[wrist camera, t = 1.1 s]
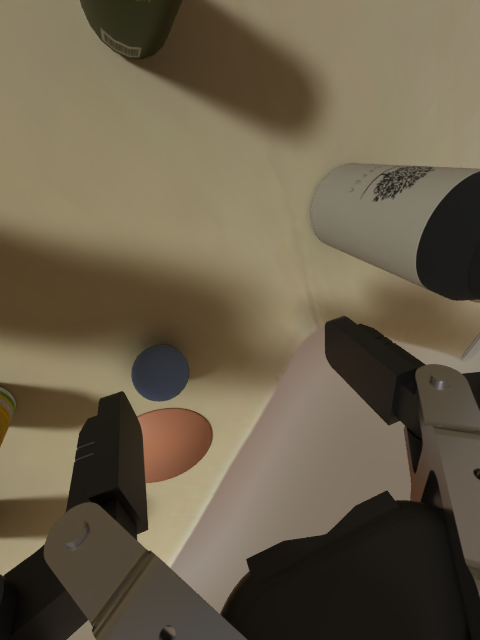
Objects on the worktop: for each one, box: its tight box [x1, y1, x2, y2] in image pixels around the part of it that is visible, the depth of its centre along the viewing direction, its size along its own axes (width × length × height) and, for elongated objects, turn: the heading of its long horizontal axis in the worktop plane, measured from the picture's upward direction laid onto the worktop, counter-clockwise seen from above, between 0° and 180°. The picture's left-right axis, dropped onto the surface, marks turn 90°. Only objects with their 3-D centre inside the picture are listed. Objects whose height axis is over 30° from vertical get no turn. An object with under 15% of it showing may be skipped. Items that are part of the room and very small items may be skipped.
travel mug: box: [311, 163, 480, 301], centre depth 23 cm, size 8×8×18 cm
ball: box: [132, 345, 189, 401], centre depth 29 cm, size 6×6×6 cm
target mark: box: [137, 408, 212, 483], centre depth 38 cm, size 13×13×1 cm
